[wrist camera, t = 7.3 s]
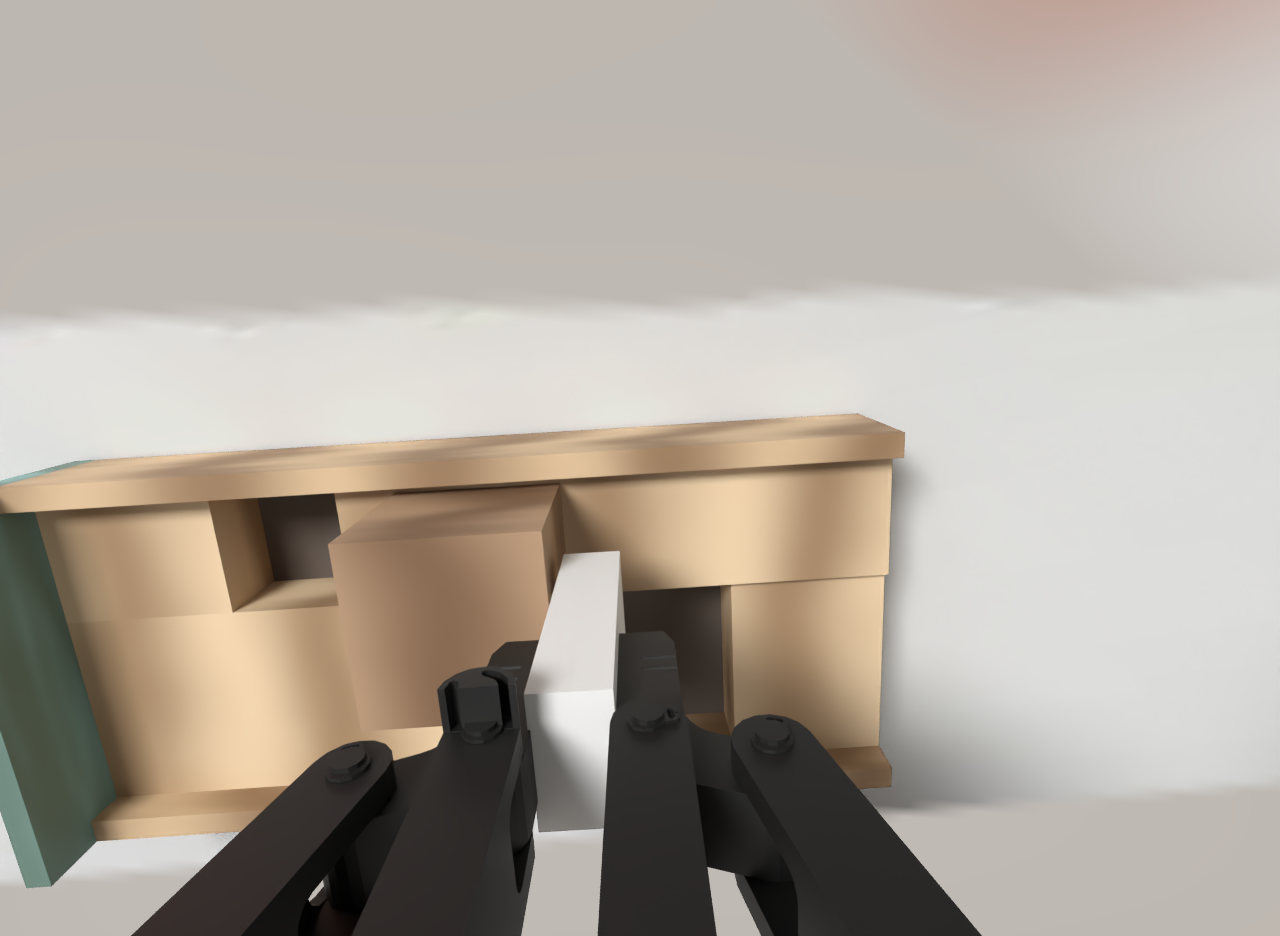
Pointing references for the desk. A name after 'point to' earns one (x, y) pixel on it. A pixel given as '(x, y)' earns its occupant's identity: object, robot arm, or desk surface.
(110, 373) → the desk surface
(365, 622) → the block
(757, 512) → the tray
